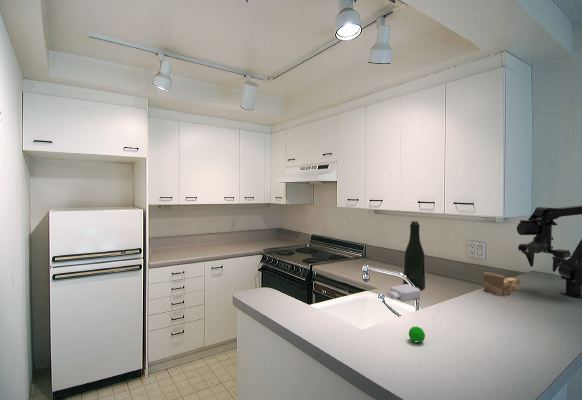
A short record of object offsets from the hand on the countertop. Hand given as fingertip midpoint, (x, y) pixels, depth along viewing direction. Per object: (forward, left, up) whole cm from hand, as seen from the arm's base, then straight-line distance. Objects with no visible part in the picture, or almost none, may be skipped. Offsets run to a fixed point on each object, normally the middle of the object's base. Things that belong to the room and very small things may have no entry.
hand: (542, 269), depth 149 cm
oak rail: (+8, -11, -12) cm, 18 cm away
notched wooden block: (+15, -11, -12) cm, 22 cm away
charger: (+61, -24, -12) cm, 67 cm away
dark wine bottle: (+45, -32, -12) cm, 56 cm away
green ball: (+84, +9, -12) cm, 85 cm away
